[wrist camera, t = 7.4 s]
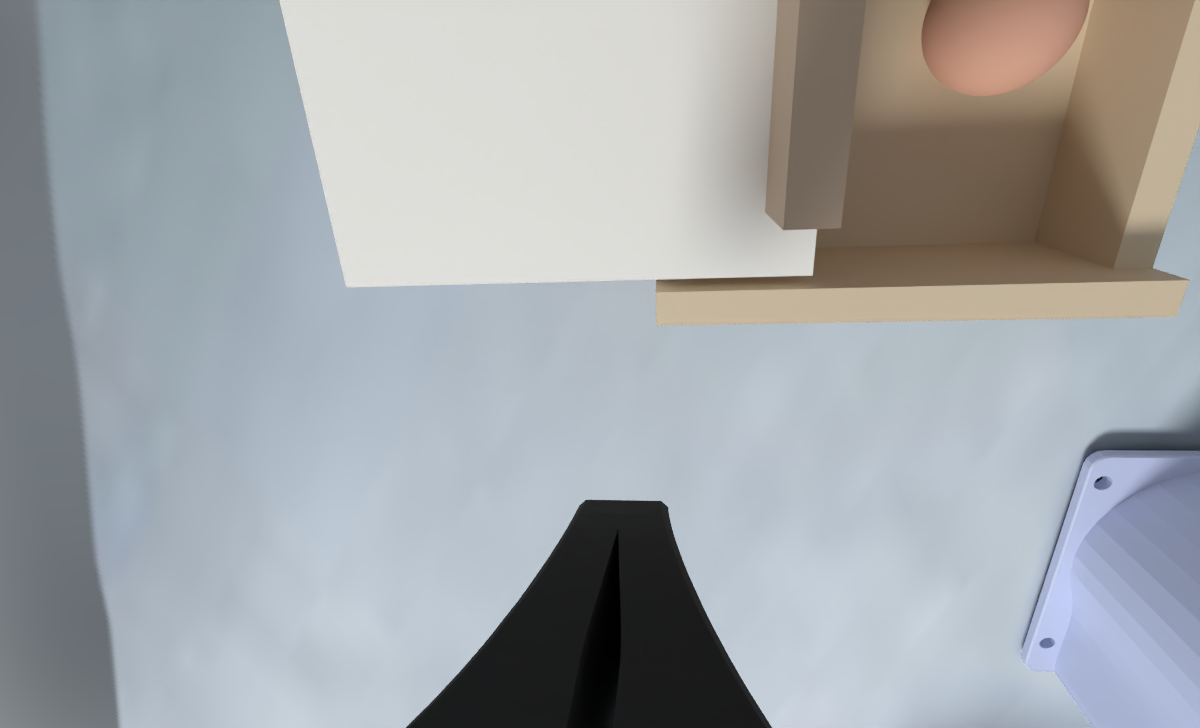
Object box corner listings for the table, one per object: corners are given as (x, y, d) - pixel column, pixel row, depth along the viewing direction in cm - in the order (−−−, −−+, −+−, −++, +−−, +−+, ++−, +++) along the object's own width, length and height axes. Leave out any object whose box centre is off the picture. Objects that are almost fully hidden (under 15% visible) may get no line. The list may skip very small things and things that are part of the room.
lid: (805, 267, 13) (837, 303, 11) (360, 279, 15) (298, 314, 12) (857, -322, 9) (927, -474, 7) (244, -241, 11) (118, -347, 8)
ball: (1019, 93, 14) (1102, 90, 12) (892, 100, 15) (945, 98, 12) (1050, -52, 13) (1151, -94, 10) (911, -40, 14) (974, -78, 11)
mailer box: (1045, 264, 17) (1176, 316, 12) (657, 274, 18) (656, 325, 14) (1194, -319, 12) (1491, -557, 8) (650, -252, 13) (645, -423, 9)
